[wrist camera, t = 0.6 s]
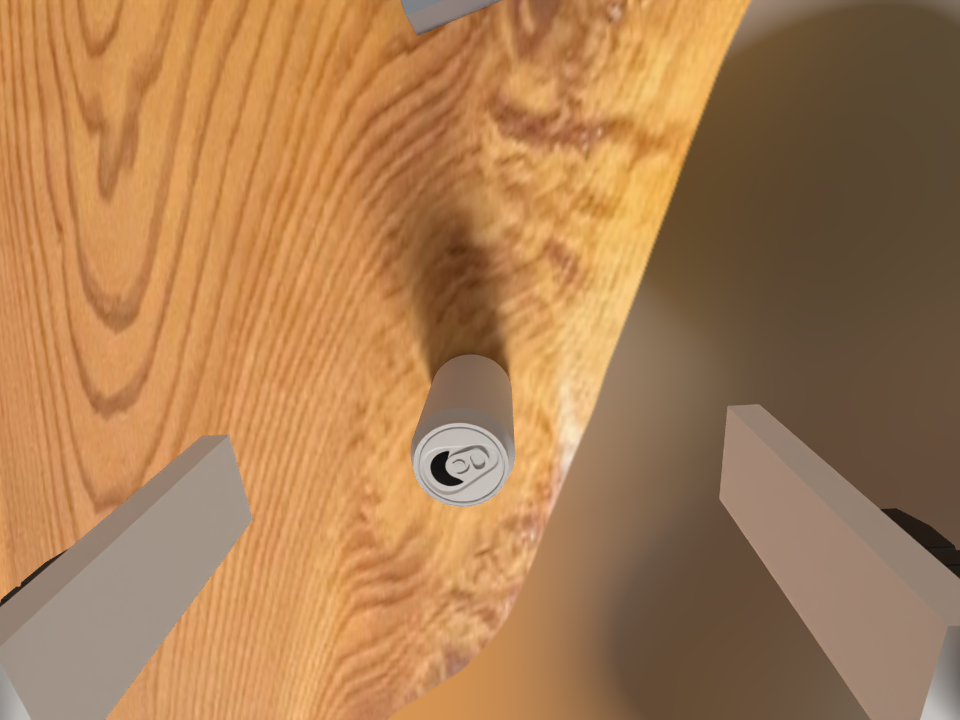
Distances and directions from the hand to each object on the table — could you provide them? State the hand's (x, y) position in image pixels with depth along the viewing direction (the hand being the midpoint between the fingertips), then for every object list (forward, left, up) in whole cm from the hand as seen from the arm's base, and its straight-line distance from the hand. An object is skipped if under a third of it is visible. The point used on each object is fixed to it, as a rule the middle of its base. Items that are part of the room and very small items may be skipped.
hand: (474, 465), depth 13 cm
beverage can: (+8, -4, -26) cm, 27 cm away
